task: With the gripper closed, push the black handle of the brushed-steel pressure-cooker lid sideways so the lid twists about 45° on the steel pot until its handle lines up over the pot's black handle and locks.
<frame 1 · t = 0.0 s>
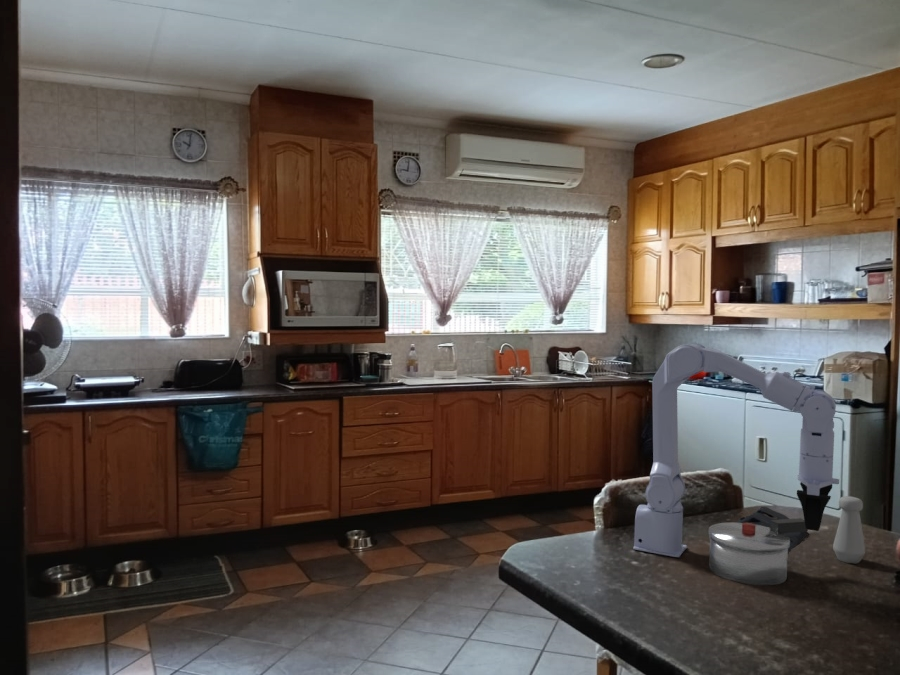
hand: (813, 524, 137), 10 cm above the counter, fingers open, 7 cm apart
pot: (747, 571, 140), on the counter
dark slate chunk: (763, 538, 163), on the counter
salt shaker: (848, 561, 148), on the counter
lid: (760, 530, 140), point 8 cm above the counter, hinge at -45.0°
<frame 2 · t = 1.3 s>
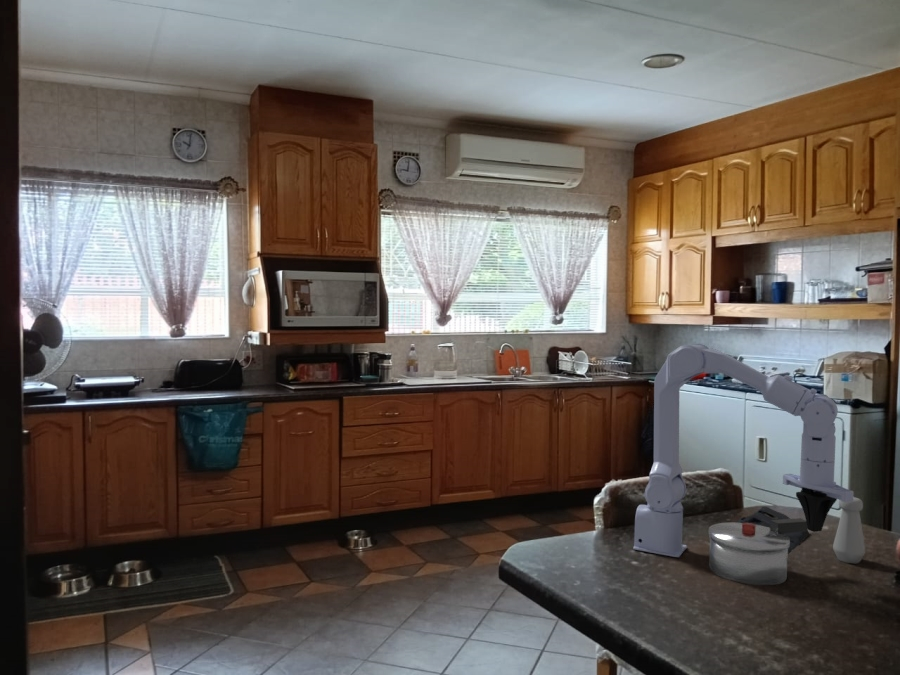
hand: (814, 530, 136), 9 cm above the counter, fingers closed
nothing on the counter moved.
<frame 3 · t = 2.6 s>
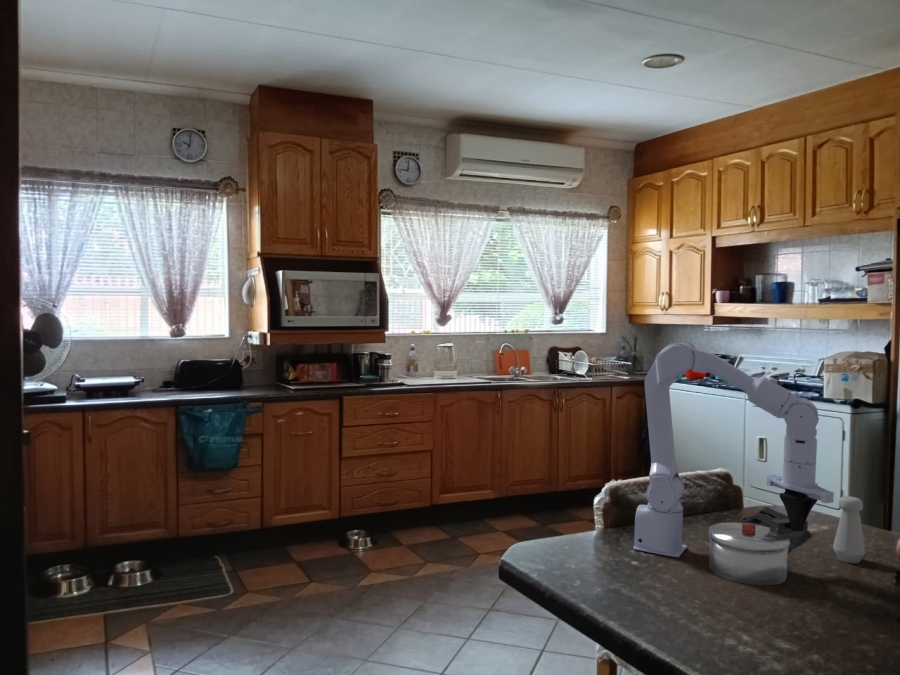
hand: (796, 530, 140), 8 cm above the counter, fingers closed
lid: (760, 530, 140), point 8 cm above the counter, hinge at -44.7°, touching gripper
everything else where it was.
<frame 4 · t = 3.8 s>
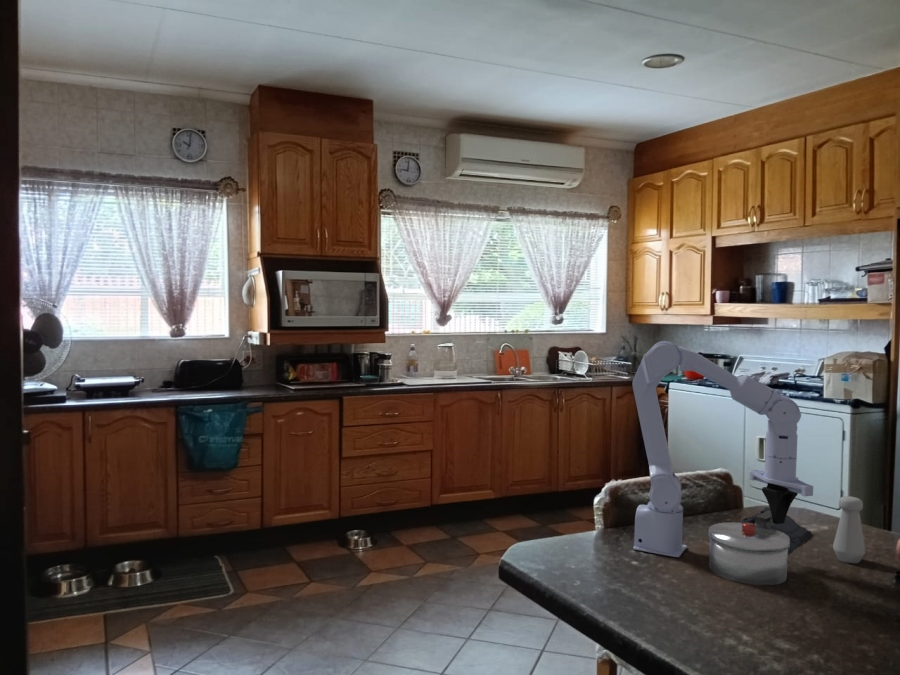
hand: (778, 523, 145), 8 cm above the counter, fingers closed
lid: (754, 528, 142), point 8 cm above the counter, hinge at -14.7°, touching gripper
everything else where it was.
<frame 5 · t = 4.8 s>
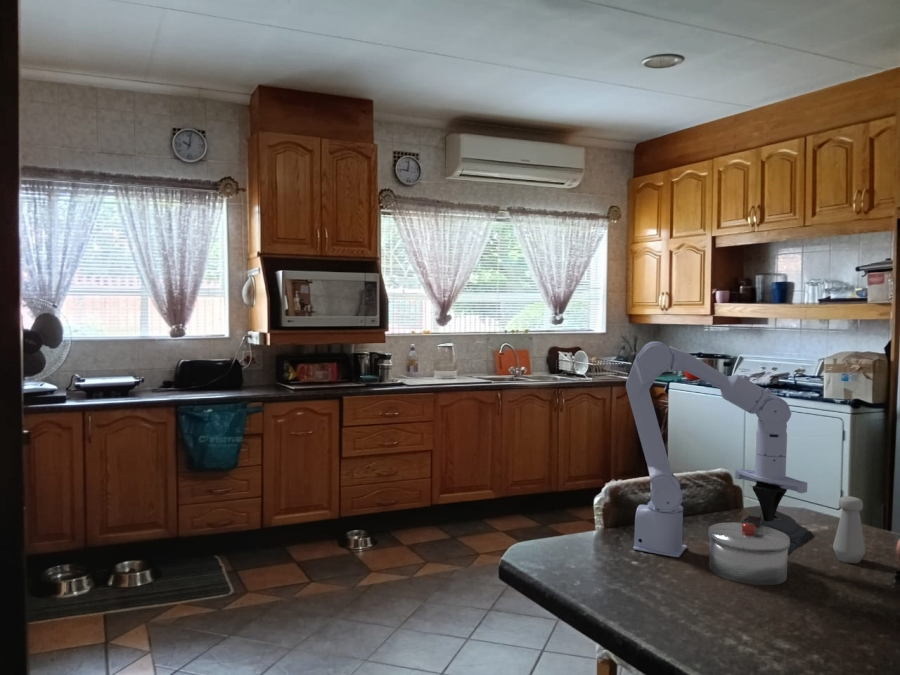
hand: (768, 520, 146), 8 cm above the counter, fingers closed
lid: (751, 528, 142), point 8 cm above the counter, hinge at -1.8°, touching gripper
everything else where it was.
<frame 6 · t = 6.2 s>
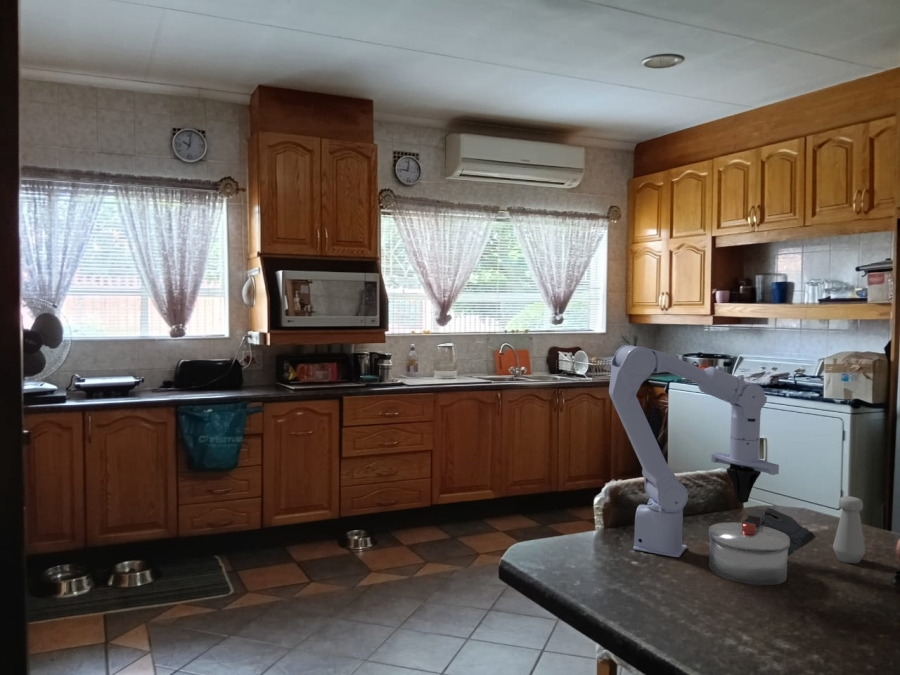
hand: (742, 501, 152), 10 cm above the counter, fingers closed
lid: (750, 528, 142), point 8 cm above the counter, hinge at -1.8°
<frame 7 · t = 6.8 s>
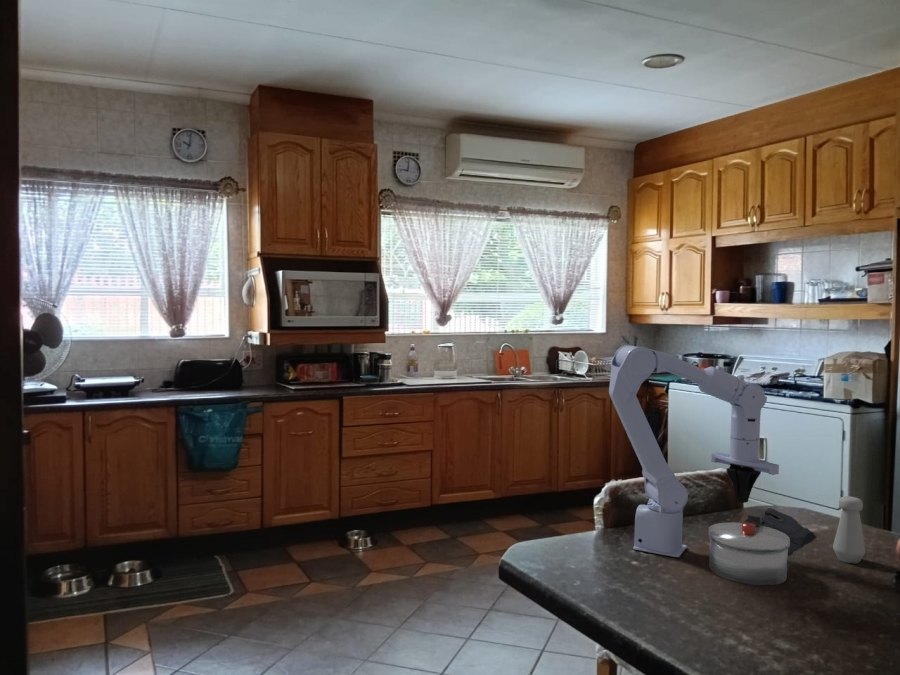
hand: (742, 501, 152), 10 cm above the counter, fingers closed
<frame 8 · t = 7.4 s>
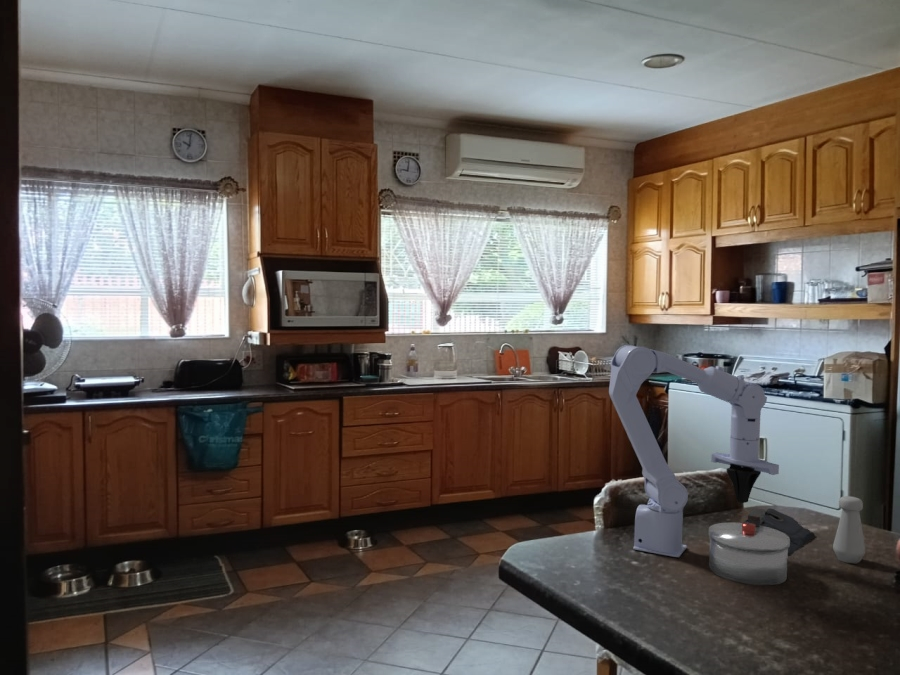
hand: (742, 501, 152), 10 cm above the counter, fingers closed
at the end: lid at -2° (first picture: -45°) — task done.
